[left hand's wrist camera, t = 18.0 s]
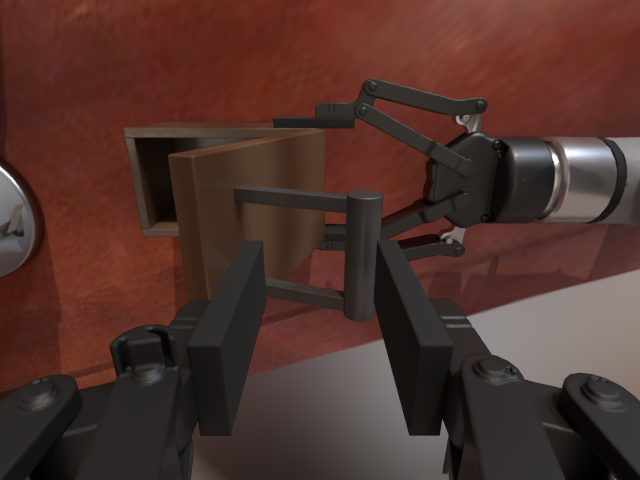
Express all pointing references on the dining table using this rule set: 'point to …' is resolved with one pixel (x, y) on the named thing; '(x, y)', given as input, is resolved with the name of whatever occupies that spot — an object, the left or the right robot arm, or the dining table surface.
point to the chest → (153, 164)
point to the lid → (272, 218)
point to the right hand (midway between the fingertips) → (277, 180)
